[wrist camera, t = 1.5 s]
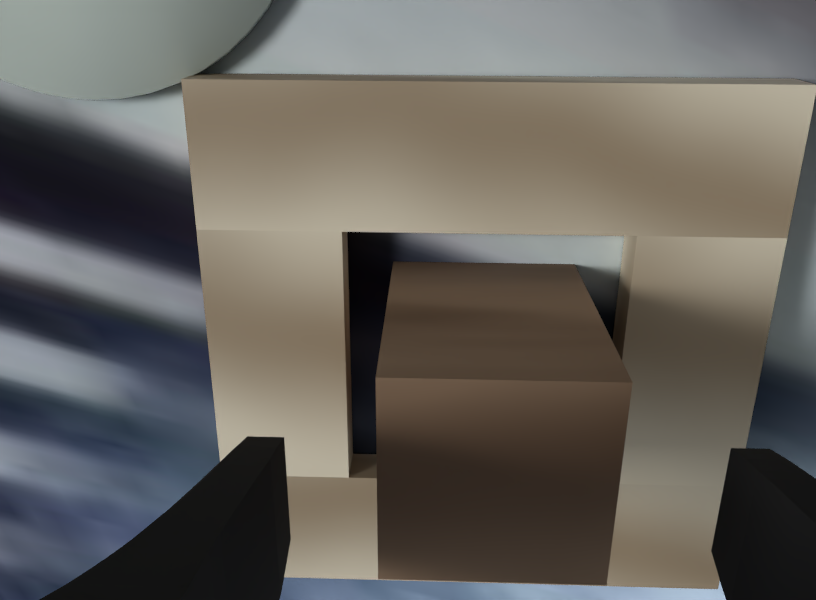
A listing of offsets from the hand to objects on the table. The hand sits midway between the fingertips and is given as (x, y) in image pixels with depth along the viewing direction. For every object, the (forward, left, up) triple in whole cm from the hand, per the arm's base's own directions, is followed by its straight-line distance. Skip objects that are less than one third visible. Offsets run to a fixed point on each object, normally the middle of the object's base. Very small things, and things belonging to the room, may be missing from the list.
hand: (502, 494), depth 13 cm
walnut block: (0, 0, -6) cm, 6 cm away
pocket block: (0, 0, -6) cm, 6 cm away
